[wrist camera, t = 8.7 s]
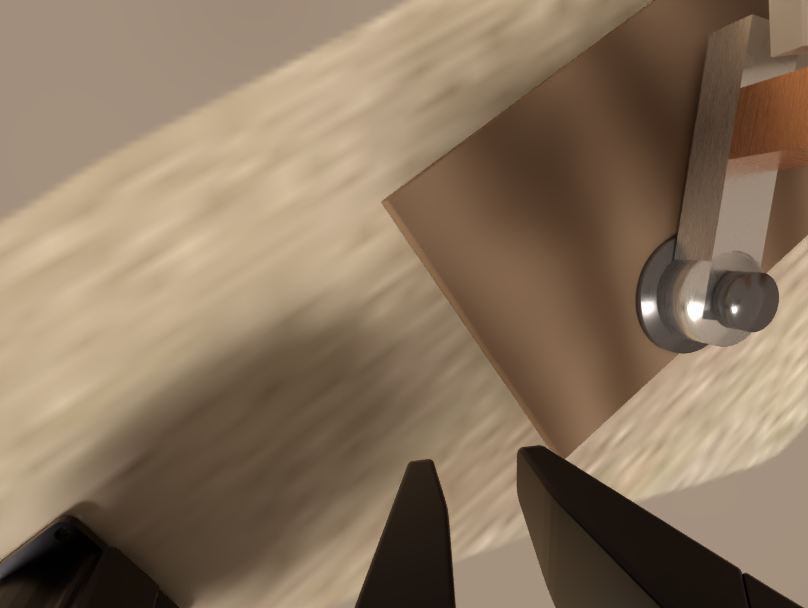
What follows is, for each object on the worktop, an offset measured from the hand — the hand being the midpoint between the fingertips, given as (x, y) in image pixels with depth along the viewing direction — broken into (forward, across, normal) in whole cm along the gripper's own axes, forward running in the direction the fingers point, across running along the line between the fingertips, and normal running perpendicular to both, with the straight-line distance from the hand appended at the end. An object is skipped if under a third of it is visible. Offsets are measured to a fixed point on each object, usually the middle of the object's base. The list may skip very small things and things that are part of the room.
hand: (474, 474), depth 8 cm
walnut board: (+17, -13, -2) cm, 21 cm away
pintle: (+15, -14, +3) cm, 21 cm away
